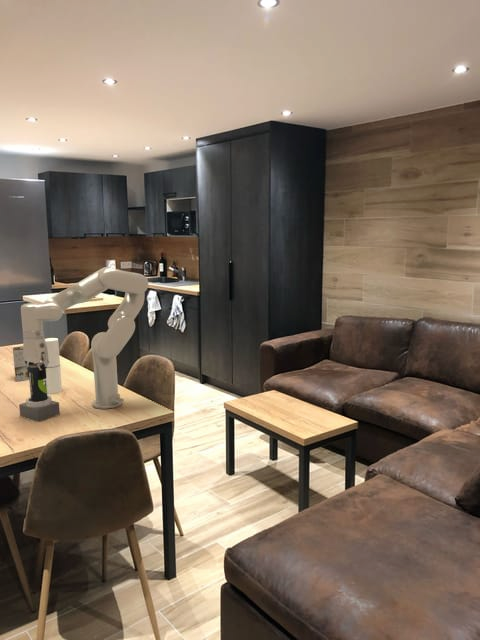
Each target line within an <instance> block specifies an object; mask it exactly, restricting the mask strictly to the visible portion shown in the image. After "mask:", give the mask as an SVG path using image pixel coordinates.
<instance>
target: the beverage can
mask: <svg viewBox="0 0 480 640" xmlns="http://www.w3.org/2000/svg"><path fill="white" fill-rule="evenodd" d="M40 365H41V366H42V364H40ZM38 370H39V368H38V365H37V363H34V364H30V365H29V367H28V372H29V381H28V382H29V389H30V390H29V391H30V397H31V400H32V401H33V402H39V401H44V400H46V399H47V398H48V397H47V395H48V393H47V386H46V379H43V380H39V377H38Z"/></svg>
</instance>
